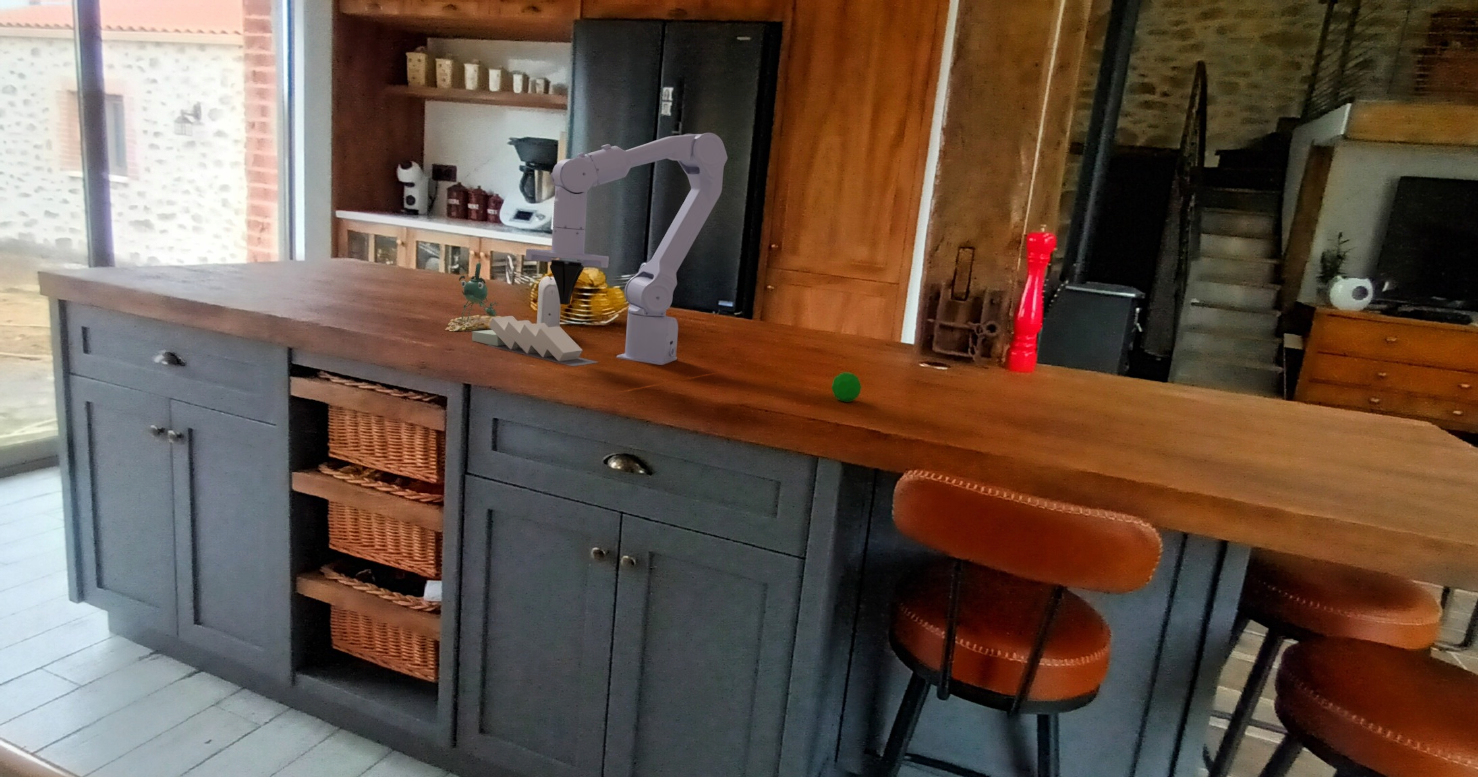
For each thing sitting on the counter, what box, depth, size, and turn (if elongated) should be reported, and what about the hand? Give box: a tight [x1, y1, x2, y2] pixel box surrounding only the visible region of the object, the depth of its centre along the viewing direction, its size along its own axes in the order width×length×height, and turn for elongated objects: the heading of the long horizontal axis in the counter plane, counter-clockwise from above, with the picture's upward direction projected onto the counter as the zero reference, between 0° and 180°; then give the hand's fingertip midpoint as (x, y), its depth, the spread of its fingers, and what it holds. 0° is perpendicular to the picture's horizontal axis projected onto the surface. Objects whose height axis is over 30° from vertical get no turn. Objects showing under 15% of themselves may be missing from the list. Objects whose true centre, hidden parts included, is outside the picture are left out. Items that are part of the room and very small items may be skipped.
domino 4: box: [536, 326, 583, 361], centre depth 159 cm, size 2×5×7 cm
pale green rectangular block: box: [471, 329, 506, 346], centre depth 168 cm, size 2×5×7 cm
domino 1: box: [489, 315, 521, 350], centre depth 165 cm, size 2×5×7 cm
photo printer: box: [536, 275, 562, 327], centre depth 182 cm, size 10×4×12 cm, turn 17°
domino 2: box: [505, 319, 537, 354], centre depth 163 cm, size 2×5×7 cm
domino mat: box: [485, 344, 600, 367], centre depth 162 cm, size 22×7×1 cm, turn 57°
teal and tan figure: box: [444, 261, 502, 332], centre depth 183 cm, size 10×18×15 cm, turn 155°
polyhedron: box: [831, 372, 862, 403], centre depth 148 cm, size 5×5×5 cm
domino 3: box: [520, 322, 553, 357], centre depth 161 cm, size 2×5×7 cm
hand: (565, 304), depth 158 cm, fingers closed
